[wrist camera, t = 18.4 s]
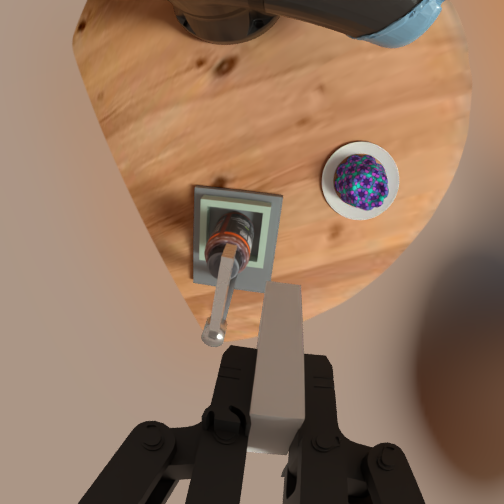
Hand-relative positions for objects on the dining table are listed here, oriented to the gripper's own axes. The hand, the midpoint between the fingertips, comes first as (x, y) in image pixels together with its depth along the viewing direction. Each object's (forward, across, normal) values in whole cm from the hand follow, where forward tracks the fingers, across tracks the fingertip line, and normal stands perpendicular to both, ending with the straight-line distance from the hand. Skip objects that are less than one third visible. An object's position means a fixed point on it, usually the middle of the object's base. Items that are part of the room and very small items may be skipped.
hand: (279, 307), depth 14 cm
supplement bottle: (+32, -6, -11) cm, 34 cm away
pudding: (+33, +12, -1) cm, 35 cm away
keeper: (+19, -5, -14) cm, 24 cm away
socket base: (+32, -6, -14) cm, 36 cm away
